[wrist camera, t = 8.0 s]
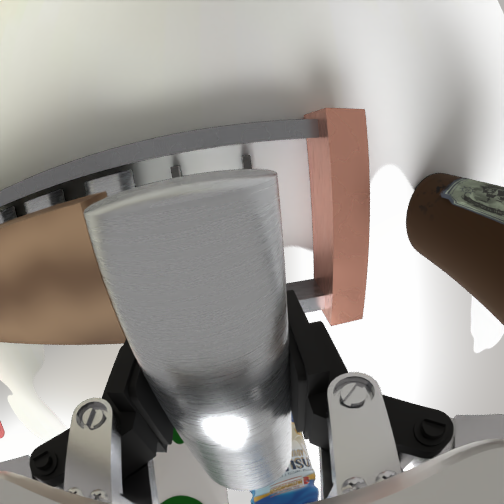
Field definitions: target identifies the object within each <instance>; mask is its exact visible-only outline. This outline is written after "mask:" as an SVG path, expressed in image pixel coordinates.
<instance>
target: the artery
mask: <svg viewBox="0 0 504 504" xmlns="http://www.w3.org/2000/svg"><path fill="white" fill-rule="evenodd" d="M3 436H4V429H3V426H2V424H1V422H0V438H2V437H3Z"/></svg>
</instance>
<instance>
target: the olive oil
mask: <svg viewBox="0 0 504 504" xmlns="http://www.w3.org/2000/svg"><path fill="white" fill-rule="evenodd" d="M406 228H407V234H408V238H409V240H410V242H411V244H412V246H413V247H414V248H415V249H416V250H417V251H418V252H419V253H420V254H422V255H423V256H424V257H426V258H427V259H428V260H430V261H431V262H432V263H434V264H435V265H436V266H438V267H439V268H440V269H442V270H443V271H444V272H446V273H447V274H448V275H449V276H451V277H452V278H453V279H454V280H455V281H457V282H458V283H459V284H460V285H461V286H462V287H464V288H465V289H466V290H467V291H468V292H469V293H470V294H472V295H473V296H474V297H475V298H476V299H477V300H478V301H479V302H480V303H481V304H483V305H484V306H485V307H486V308H487V309H488V310H489V311H490V312H491V313H492V314H493V315H494V316H495V317H496V318H497V319H498V320H499V321H500V322H501V323H502V324H503V325H504V187H501V186H497V185H493V184H489V183H484V182H480V181H476V180H471V179H467V178H462V177H457V176H453V175H448V174H443V173H436V174H432V175H430V176H428V177H426V178H425V179H424V180H423V181H422V182H421V183H420V184H419V185H418V186H417V188H416V189H415V191H414V193H413V195H412V197H411V199H410V202H409V206H408V210H407V217H406Z"/></svg>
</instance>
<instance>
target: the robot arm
mask: <svg viewBox="0 0 504 504" xmlns="http://www.w3.org/2000/svg"><path fill="white" fill-rule="evenodd" d="M286 294H287V311H288V331H289V359H290V388H291V412H292V416H293V420H294V424H295V428H296V431H297V433H298V432H302V431H303V434H304V438H305V439H309V441H310V443H312V444H314V445H316V446H319V453H320V469H321V470H320V472H321V500H320V501H315V502H311V503H307V504H504V415H503V414H495V415H494V414H493V415H456V416H455V417H454V418H449V416H448V415H446V414H445V413H444V412H441V411H439V410H436V409H431V408H427V407H423V406H420V405H416V404H412V403H409V402H405V401H401V400H398V399H395V398H392V397H388V396H385V395H382V394H381V390H380V387H379V385H378V383H377V382H376V381H375V380H374V379H373V378H372V377H370V376H368V375H366V374H363V373H359V372H350V373H348V371H347V369H346V367H345V365H344V363H343V361H342V359H341V357H340V355H339V353H338V351H337V349H336V347H335V346H334V344H333V342H332V340H331V338H330V336H329V334H328V332H327V330H326V328H325V326H324V324H323V323H322V322H321V321H318V322H314V323H309V322H308V320H307V318H306V316H305V313H304V311H303V309H302V307H301V305H300V303H299V300H298V298H297V296H296V294H295V292H294V290H287V291H286ZM173 429H174V426H173V424H172V423H171V421H170V420H169V418H168V416H167V415H166V413H165V411H164V410H163V408H162V406H161V405H160V403H159V401H158V399H157V398H156V396H155V394H154V392H153V390H152V389H151V387H150V385H149V383H148V381H147V379H146V377H145V376H144V374H143V372H142V370H141V368H140V366H139V364H138V362H137V360H136V358H135V356H134V353H133V351H132V349H131V347H130V345H129V343H128V340H127V338H126V340H125V343H124V345H123V346H122V347H121V348H120V350H119V353H118V355H117V358H116V360H115V363H114V366H113V368H112V371H111V374H110V376H109V379H108V382H107V385H106V387H105V390H104V393H103V396H102V399H101V398H91V399H87V400H85V401H83V402H82V403H80V404H79V405H78V406H77V407H76V409H75V411H74V413H73V415H72V420H71V427H70V428H69V429H68V430H66V431H64V432H63V433H61V434H59V435H58V436H56V437H54V438H52V439H51V440H49V441H47V442H46V443H44V444H42V445H40V446H39V447H37V448H36V449H35V450H34V451H33V453H32V454H31V457H30V456H29V455H26V456H23V457H19V458H16V459H12V460H8V461H4V462H1V463H0V504H159V499H158V493H157V486H156V478H155V470H154V462H153V458H154V457H156V452H167V446H168V445H171V444H172V440H173Z"/></svg>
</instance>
